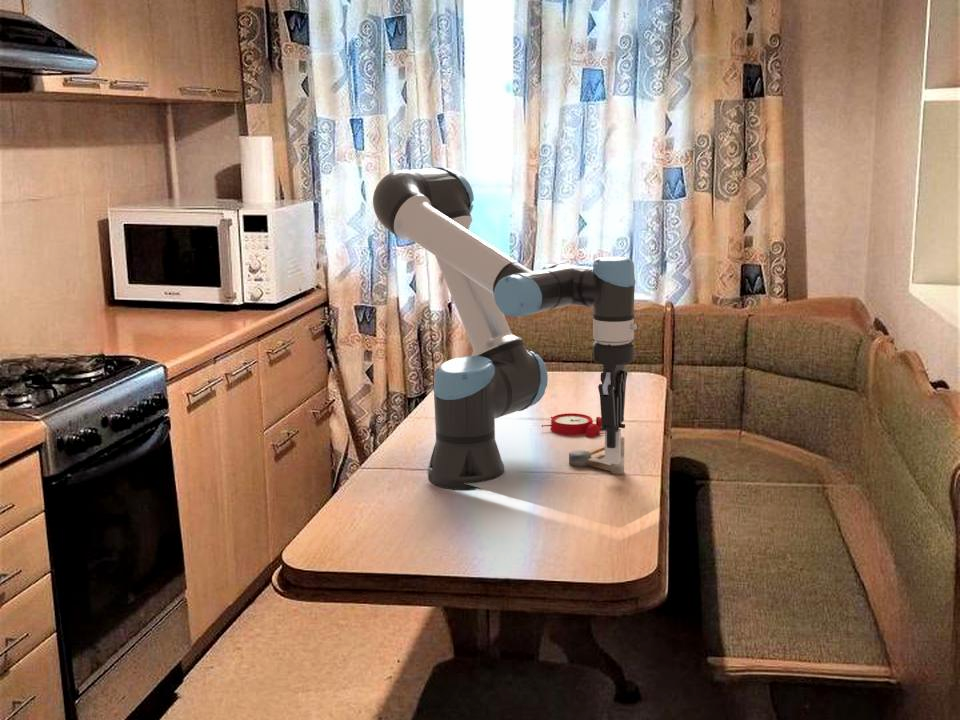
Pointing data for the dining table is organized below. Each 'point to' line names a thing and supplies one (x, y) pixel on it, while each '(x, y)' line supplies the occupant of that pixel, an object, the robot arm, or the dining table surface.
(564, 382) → the dining table surface
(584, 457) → the peg lever
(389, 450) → the dining table surface
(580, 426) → the alarm clock
